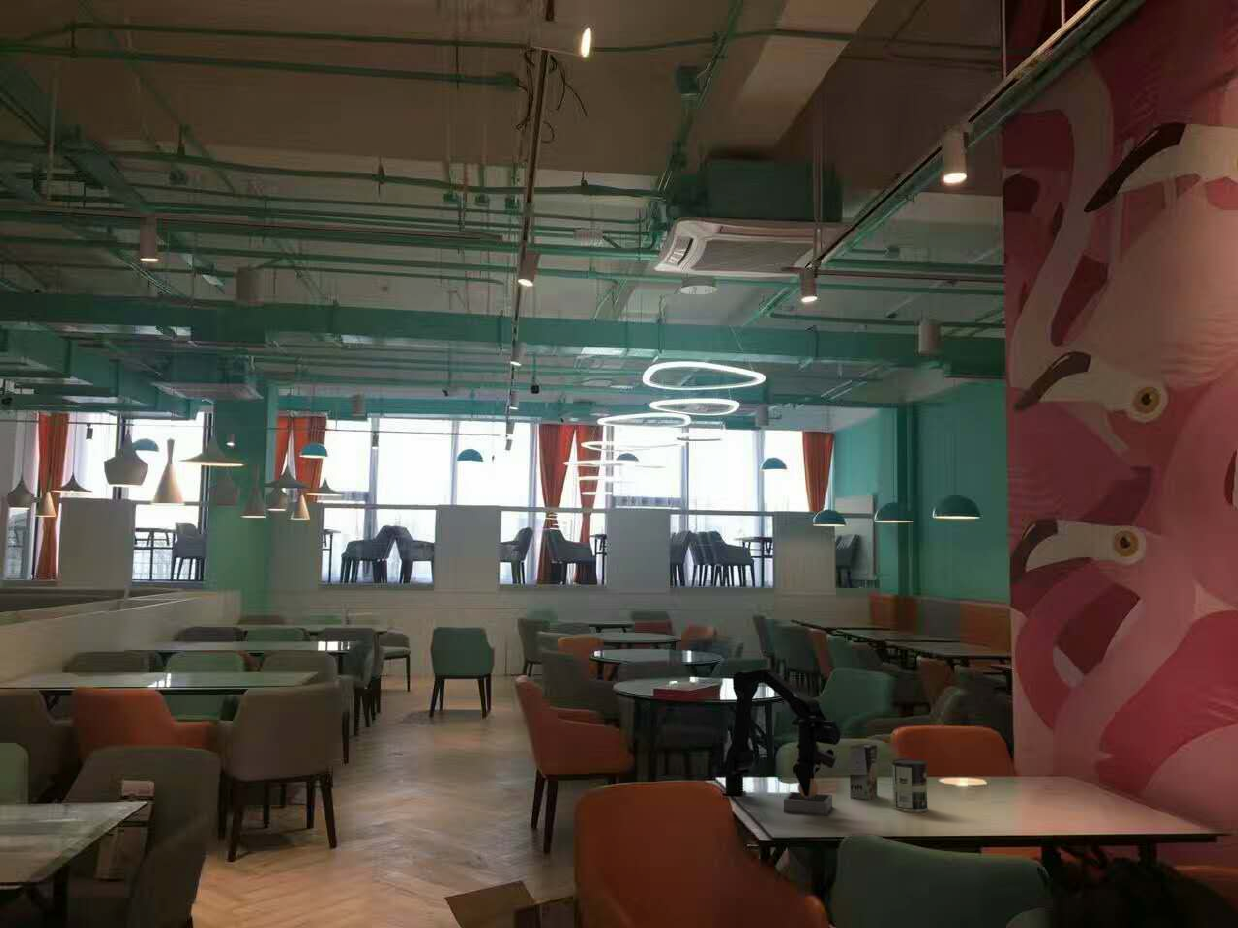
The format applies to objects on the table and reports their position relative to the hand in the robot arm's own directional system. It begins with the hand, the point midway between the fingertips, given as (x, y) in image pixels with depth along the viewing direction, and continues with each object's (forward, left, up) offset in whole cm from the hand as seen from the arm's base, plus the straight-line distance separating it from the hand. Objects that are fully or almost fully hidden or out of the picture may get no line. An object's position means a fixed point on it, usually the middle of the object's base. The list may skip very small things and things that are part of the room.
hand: (808, 793), depth 306 cm
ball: (0, 0, +2) cm, 2 cm away
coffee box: (-26, +14, -5) cm, 30 cm away
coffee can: (-13, +29, -5) cm, 32 cm away
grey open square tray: (0, 0, -4) cm, 4 cm away
